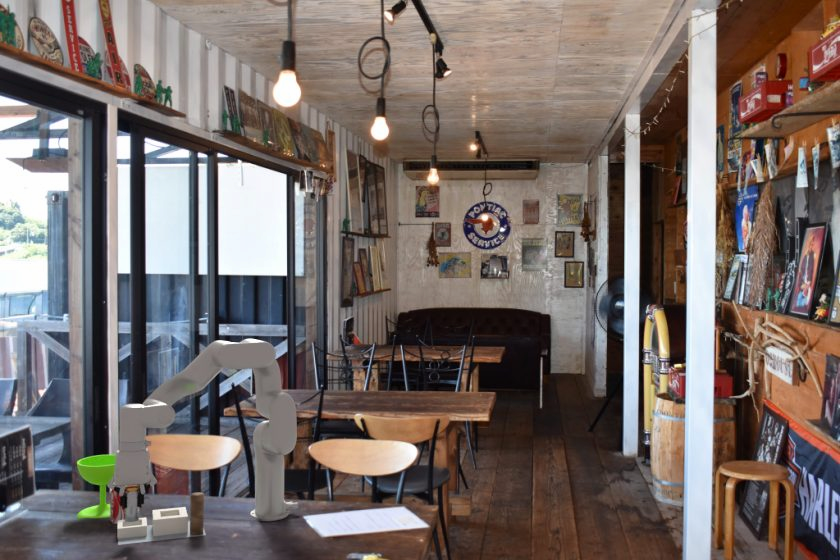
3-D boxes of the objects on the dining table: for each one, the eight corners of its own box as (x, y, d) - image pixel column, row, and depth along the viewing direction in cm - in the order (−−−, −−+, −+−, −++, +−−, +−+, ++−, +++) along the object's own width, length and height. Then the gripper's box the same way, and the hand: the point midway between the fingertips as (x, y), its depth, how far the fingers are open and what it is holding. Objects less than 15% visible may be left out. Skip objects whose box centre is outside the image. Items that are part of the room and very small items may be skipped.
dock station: (201, 522, 250) (201, 504, 250) (205, 538, 236) (205, 518, 235) (117, 531, 241) (117, 512, 241) (117, 548, 227) (117, 528, 226)
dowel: (202, 530, 240) (203, 491, 239) (204, 534, 236) (204, 495, 236) (189, 531, 238) (189, 493, 238) (190, 536, 235) (191, 496, 234)
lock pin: (138, 517, 233) (139, 484, 233) (139, 521, 229) (139, 487, 229) (124, 518, 231) (125, 485, 231) (124, 522, 227) (125, 488, 227)
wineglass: (110, 503, 269) (111, 452, 269) (138, 512, 260) (138, 459, 259) (66, 515, 256) (67, 461, 256) (94, 525, 247) (94, 469, 246)
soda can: (125, 527, 244) (125, 490, 244) (105, 526, 246) (105, 488, 246) (137, 520, 251) (138, 483, 251) (118, 518, 253) (118, 482, 253)
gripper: (161, 441, 236) (161, 501, 237) (102, 445, 230) (102, 506, 231) (162, 447, 229) (162, 508, 230) (102, 450, 223) (101, 513, 224)
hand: (132, 506), depth 230 cm, fingers closed on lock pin, 4 cm apart
